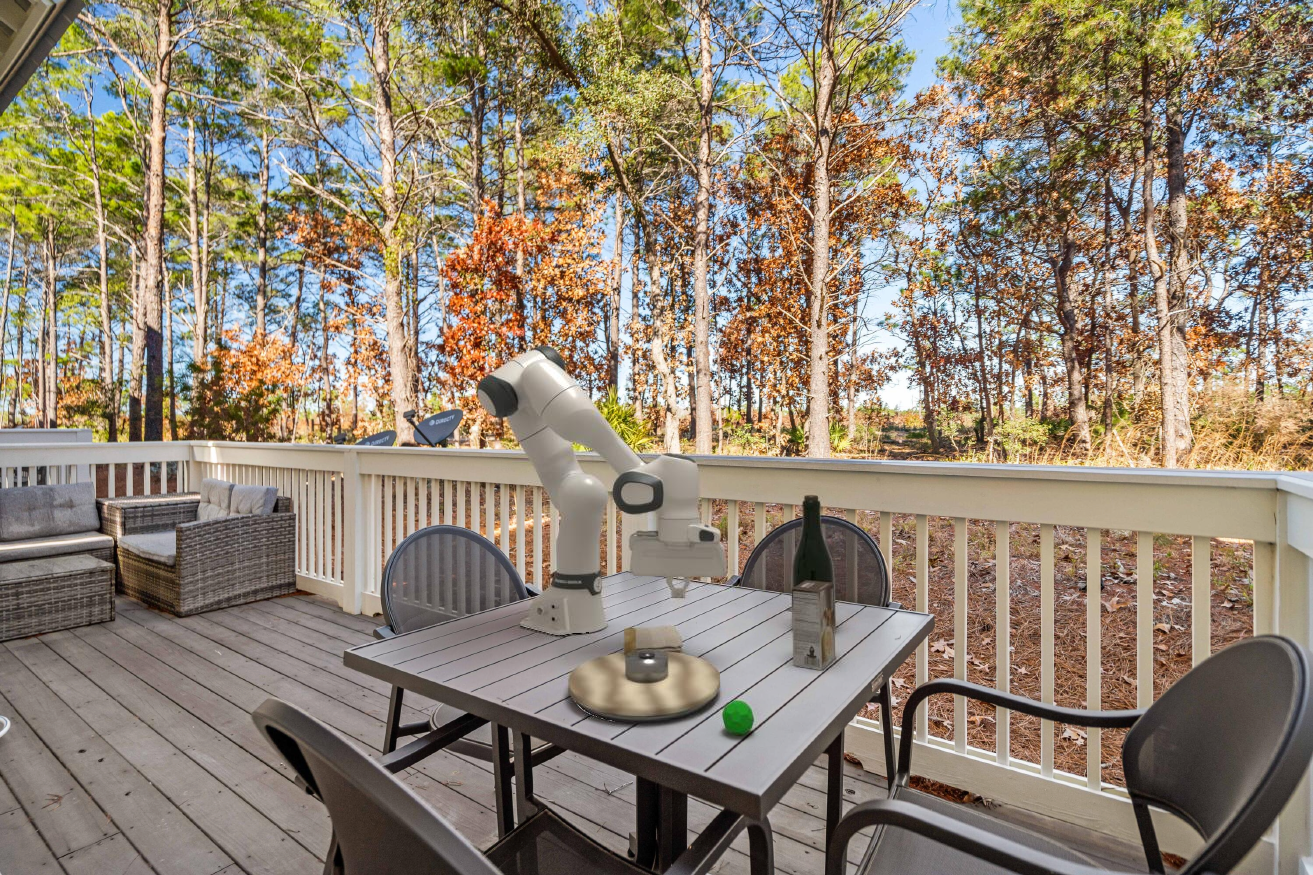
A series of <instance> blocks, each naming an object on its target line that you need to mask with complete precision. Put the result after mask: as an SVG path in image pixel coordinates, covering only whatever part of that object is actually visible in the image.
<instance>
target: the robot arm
mask: <svg viewBox="0 0 1313 875" xmlns="http://www.w3.org/2000/svg"><path fill="white" fill-rule="evenodd" d="M476 395H477V399H478V400H479V403H480V405H481V407H482V408H483V410H485V411H486V413H487V414H488V415H490V416H491V417H493V418H496V419H504V418H505V419H506V421H507V423H508V425H509V428H510V430H511V432H512V433H513V436H514V437H515V439H516V441H517V442H518V443H519V445H520V447H521V448H522V450H523V452H524V453H525V455H526V457H527V458H528V460H529V461H530V463H531V465H532V466H533V468H534V470H535V472H536V474H537V476H538V478H539V481H540V482H541V485H542V486H543V489H544V490H545V491H544V492H546V494H547V496H548V498H549V500H550V502H551V504H552V505H553V507H554V508H555V509H556V511H558V512H560V522H559V528H558V533H557V537H556V540H555V554H556V555H555V557H556V558H555V559H556V560H555V561H556V562H555V564H556V565H555V566H556V570H555V571H553V572H552V573H549V574H547V576H548V577H547V580H550V579H552V580H551V582H550V585H549V586H548V587H547V588H545V589H544V590H543V591H542V592H541V593H540V594H539V595H537V596H535V598H534V599H532V601H531V603H530V606H529V613H528V616H527V617H525V618H524V619H522V620H521V621H520V622H519V626H520V625H522V626H526V627H529V628H533V629H537V630H541V631H544V632H549V633H552V634H556V635H565V634H570V635H572V634H571V633H582V634H587V633H586V632H589V633H594V632H597V631H600V630H603V629H605V628H606V627H607V626H608V622H607V618H606V614H605V611H604V605H603V604H604V603H603V600H602V589H603V573H602V569H601V556H600V555H601V554H600V553H601V552H600V550H601V549H600V548H601V547H600V542H601V532H602V525H603V521H604V513H605V509H606V508H607V505H608V502H609V493H608V489H607V487H606V485H605V484H604V483H603V482H602V481H601V480H600V479H599V478H598V477H596V476H594V475H591V474H587V473H584V471H583V470H582V468H581V466H580V464H579V461H578V459H577V456H576V454H575V451H574V446H573V444H572V443H574V444H577V445H580V446H582V447H584V448H587V449H590V450H591V451H594V452H595V453H597V454H598V455H599V456H600V457H601V458H602V459H603V460H604V461H605V462H606V463H607V464H608V465H609V466H610V467H611V468H612V470H614V472H616V473H617V475H618V477H617V478H616V479H615V481H614V482H613V487H612V490H611V492H612V499H613V501H614V504H615V505H616V507H617V508H618V509H619V510H620V511H621V512H623V513H625V514H627V515H631V516H632V515H634V516H640V515H643V514H648V513H650V512H651V513H652V512H655V513H656V514H657V530H646V531H643V530H637V531H635V532H633V533H632V534H631V535H630V536H629V540H628V546H629V549H630V551H631V555H630V563H629V565H630V566H629V572H630V573H631V575H632V576H635V577H665V583H666V585H667V586H668V588H669V590H670V592H671V593H670V596H671V597H670V598H671V599H686V591H687V589H688V588H689V585H690V584H691V582H692V578H718V579H719V578H720V579H721V578H725V576H727V574H728V566H727V555H726V550H725V547H724V543H723V542H722V541H721V537H722V532H721V531H720V529H719V528H717V527H715V526H711V525H708V524H704V523H702V522H701V521H700V520H701V516H700V511H699V500H700V496H701V488H700V486H701V485H700V472H699V467H698V464H697V462H696V461H695V460H694V459H693V458H692V457H690V456H687V455H684V454H678V453H671V452H665V453H662V454H661V455H660V456H659V457H657V458H656V459H654V460H653V461H651V462H649V463H648V462H646V461H645V460H644V459H643V458H642V457H640V455H639V454H638V453H637V452H636V451H635V450H634V449H633V448H632V447H631V446H630V445H629V444H628V443H627V442H626V441H625V440H624V439H623V437H622V436H621V435H619V434H618V433H617V431H615V429H614V428H613V427H612V425H611V424H610V423H609V422H608V421H607V419H606V418H605V417H604V415H603V414H602V413H601V411H600V410H599V409H598V406H596V405H595V403H594V402H593V400H592V399H591V398H590V397H589V395H588V394H587V392H585V390H584V389H583V388H582V387H581V385H579V384H578V382H577V381H575V379H574V378H573V377H572V376H570V374H568V373H567V367H566V364H565V361H564V359H563V357H562V356H561V354H560V353H559V352H558V351H557V350H556V349H555V348H553V347H552V346H550V345H540V346H537V347H533V348H531V349H530V351H527V352H524V353H521V354H520V355H517V356H516V357H515V356H514V357H513V358H511V359H509V361H507V363H504V364H503V365H501V366H500V367H498V368H497V369H495V370H494V371H493V372H491V373H490V374H487V375H485V376H484V377H482V379H481V380H479V382H478V383H477V385H476ZM675 577H676V578H678V577H679V578H683V582H684V585H683V586H682V587H680V588H679V587H675V585H674V584H673V581H674V578H675ZM565 636H566V635H565Z"/></svg>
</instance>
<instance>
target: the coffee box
mask: <svg viewBox="0 0 1313 875" xmlns="http://www.w3.org/2000/svg"><path fill="white" fill-rule="evenodd" d="M834 584H835V582H834V583H829V582H818V581H807V580H806V581H804V582H802V583H801V584H799V585H797V586H796V587H794V588H792V587H791V625H792V624H793V627H792V652H793V653H792V659H793V666H795V667H798V668H799V667H800V668H805V669H810V668H812V669H811V670H815V669H817V670H816V671H821V670H823V669H824V668H825V669H826V668H827V667H828V666H829V665H830V663H832V661H834V659H836V630H835V617H834ZM825 669H824V670H825ZM824 670H823V671H824Z"/></svg>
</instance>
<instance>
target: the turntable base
mask: <svg viewBox="0 0 1313 875" xmlns="http://www.w3.org/2000/svg"><path fill="white" fill-rule="evenodd" d="M623 647H624V643H623ZM715 696H716V695H715ZM715 696H714V697H713V698H712V699H711V700H709V701H708V702H706V703H704V704H702V705H700V706H697V707H695V708H692V709H689V710H685V711H681V712H677V713H672V714H665V715H656V716H624V715H615V714H608V713H603V712H599V711H596V710H592V709H590V708H587V707H585V706H583V705H581V704H579V703H578V702H576V703H577V704H578V705H579V706H580V707H581V708H582V709H583V710H585V711H586V712H588V713H590V714H592V715H594V716H597V717H599V718H598V719H600V718H603V719H605V720H604V721H607V720H612V721H615V722H614V723H618V722H621V723H620V724H627V725H629V724H631V725H632V724H633V725H649V724H660V723H661V724H662V723H668V722H673V721H678V720H682V719H686V718H688V717H692V716H694V715H697V714H698V713H700V712H702V711H704V710H705V709H707V708H708V707H709V706H710V705H711V704H712V703H713V701H714V699H715ZM576 703H575V704H576ZM594 716H593V717H594ZM597 717H596V718H597ZM603 719H602V720H603ZM612 721H611V722H612Z"/></svg>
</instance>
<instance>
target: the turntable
mask: <svg viewBox="0 0 1313 875" xmlns="http://www.w3.org/2000/svg"><path fill="white" fill-rule="evenodd" d="M635 628H636V627H626V628H624V629H623V635H624V636H623V640H624V641H623V644H624V646H623V651H622V652H617V653H612V654H606V655H602V656H600V657H596V658H593V659H590V660H588V661H586V662H583V663H582V664H580V665H579V666H577V667H575V668H573V671H571V673H570V674H569V676H568V680H567V681H568V682H567V684H568V686H567V688H568V694H569V696H570V697H571V698H572V700H573V701H574V702H575V701H576V702H578V703H579V704H581V705H583V706H585V707H587V708H590V709H592V710H596V711H599V712H603V713H608V714H615V715H624V716H656V715H665V714H672V713H677V712H681V711H685V710H689V709H692V708H695V707H697V706H700V705H702V704H704V703H706V702H708V701H709V700H711V699H712V698H713V697H714V696H716V695H717V694H718V693H719V691H720V688H721V674H720V671H719V670H718V669H717V668H716V667H715V665H713V664H712V663H710V662H709V661H707V660H704V659H703V658H700V657H696V656H693V655H690V654H686V653H683V652H682V653H683V654H682V653H676V652H668V651H663V652H665V653H667V654H668V677H667V678H666V679H665V680H662V681H660V682H655V683H636V682H632V681H630V680H628V679H627V678H626V677H625V656H626V654H628V653H630V652H632V651H636V629H635ZM714 698H715V697H714Z"/></svg>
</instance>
